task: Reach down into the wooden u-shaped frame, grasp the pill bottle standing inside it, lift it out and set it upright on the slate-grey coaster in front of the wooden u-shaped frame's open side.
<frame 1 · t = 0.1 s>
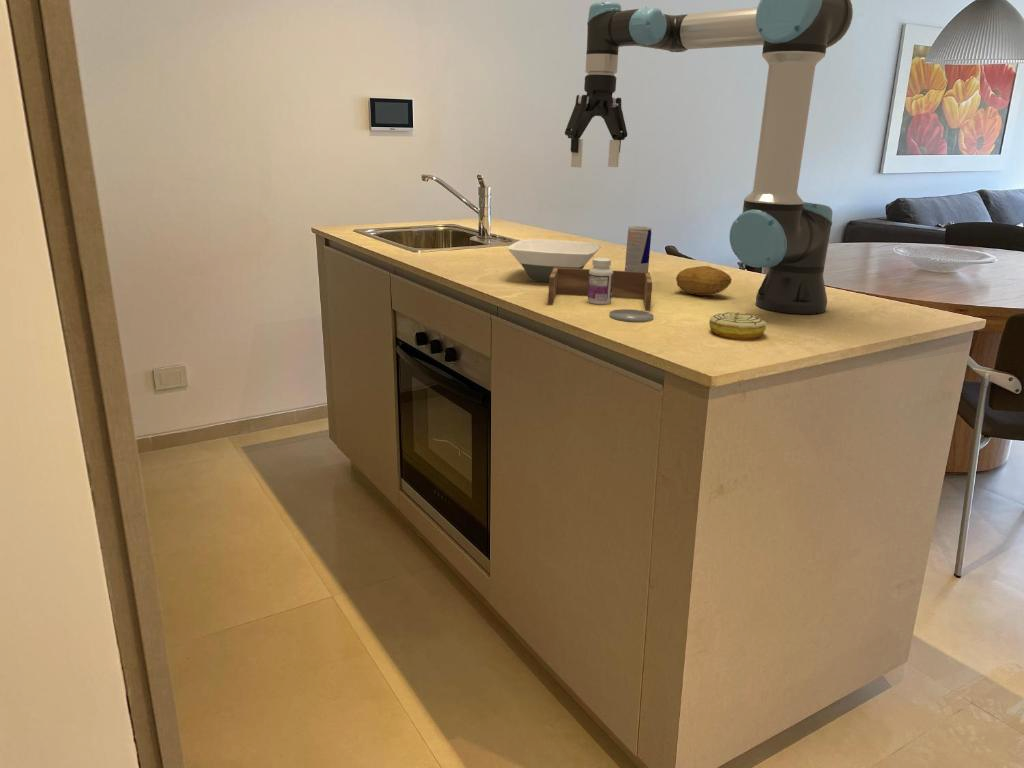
hand: (594, 167, 190), 28 cm above the worktop, fingers open, 13 cm apart
pill bottle: (598, 303, 172), on the worktop
wooden u-shaped frame: (599, 301, 173), on the worktop
decorated donut: (736, 335, 149), on the worktop
beverage can: (634, 289, 189), on the worktop
potato: (702, 296, 184), on the worktop
coaster: (631, 317, 159), on the worktop
bowl: (553, 279, 199), on the worktop
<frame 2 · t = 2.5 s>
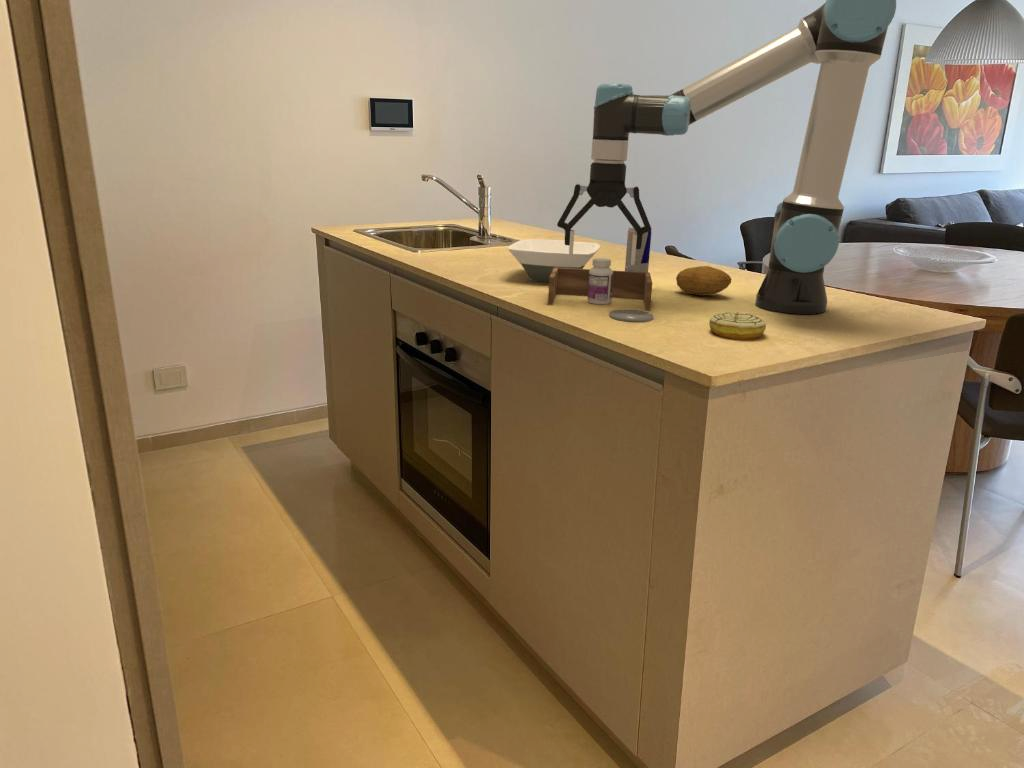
hand: (601, 262, 170), 9 cm above the worktop, fingers open, 13 cm apart
nothing on the worktop moved.
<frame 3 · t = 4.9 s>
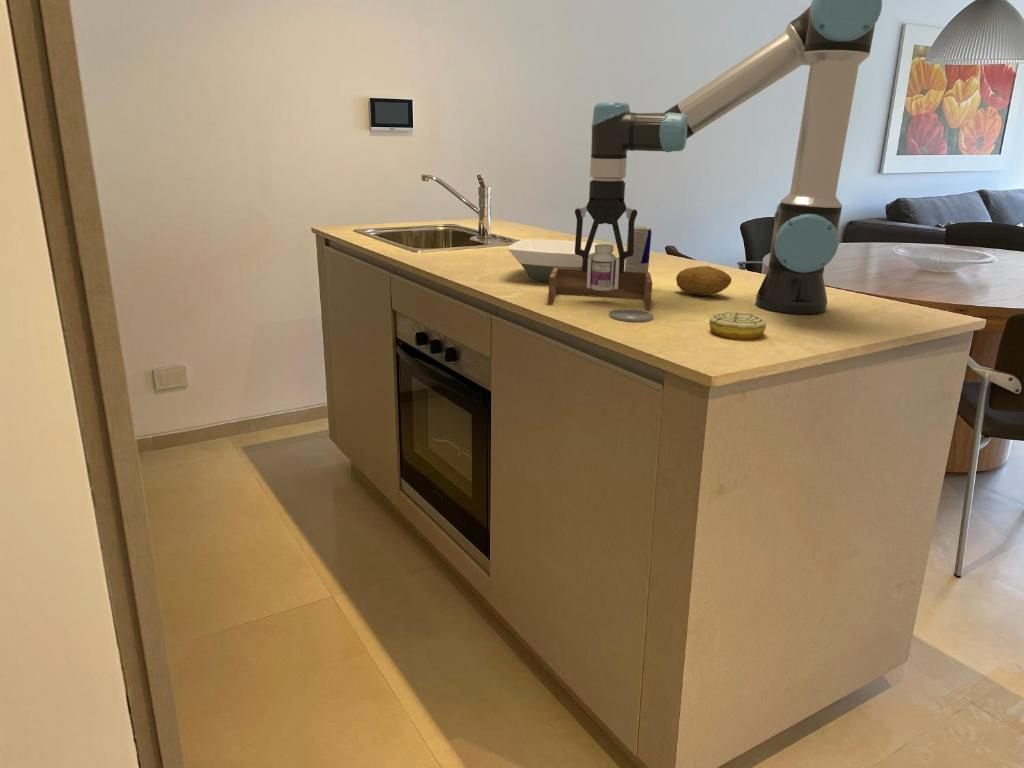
hand: (602, 287, 171), 3 cm above the worktop, fingers closed on pill bottle, 5 cm apart
pill bottle: (602, 289, 171), point 3 cm above the worktop, touching gripper
everything else where it was.
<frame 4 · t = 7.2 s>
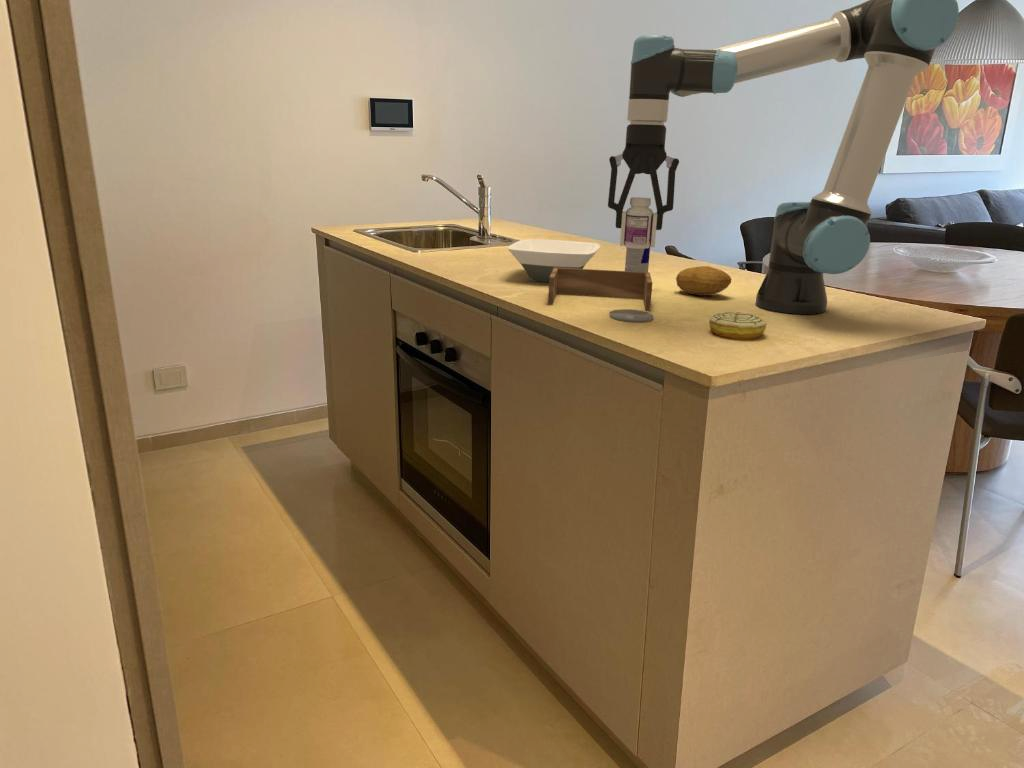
hand: (637, 245, 155), 15 cm above the worktop, fingers closed on pill bottle, 5 cm apart
pill bottle: (636, 248, 155), point 14 cm above the worktop, touching gripper
everything else where it was.
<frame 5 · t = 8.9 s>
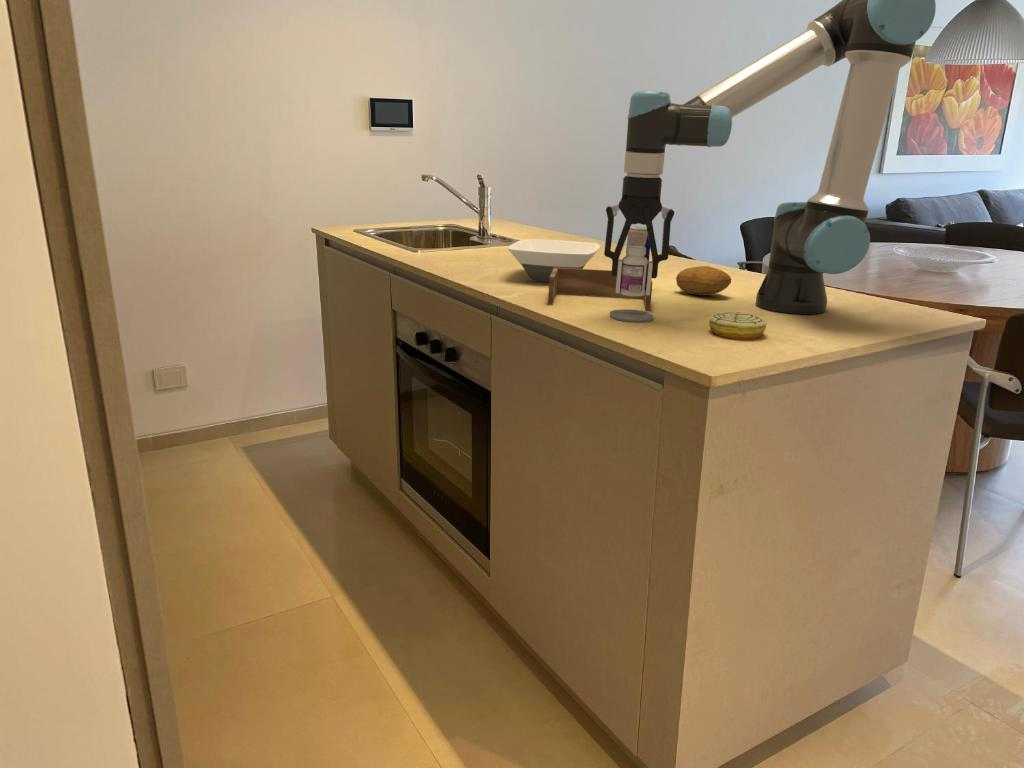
hand: (632, 292, 158), 5 cm above the worktop, fingers closed on pill bottle, 5 cm apart
pill bottle: (632, 295, 158), point 5 cm above the worktop, touching gripper
everything else where it was.
when the fingers open (2 cm above the worktop, at t = 9.9 s): pill bottle stays where it is, resting on coaster.
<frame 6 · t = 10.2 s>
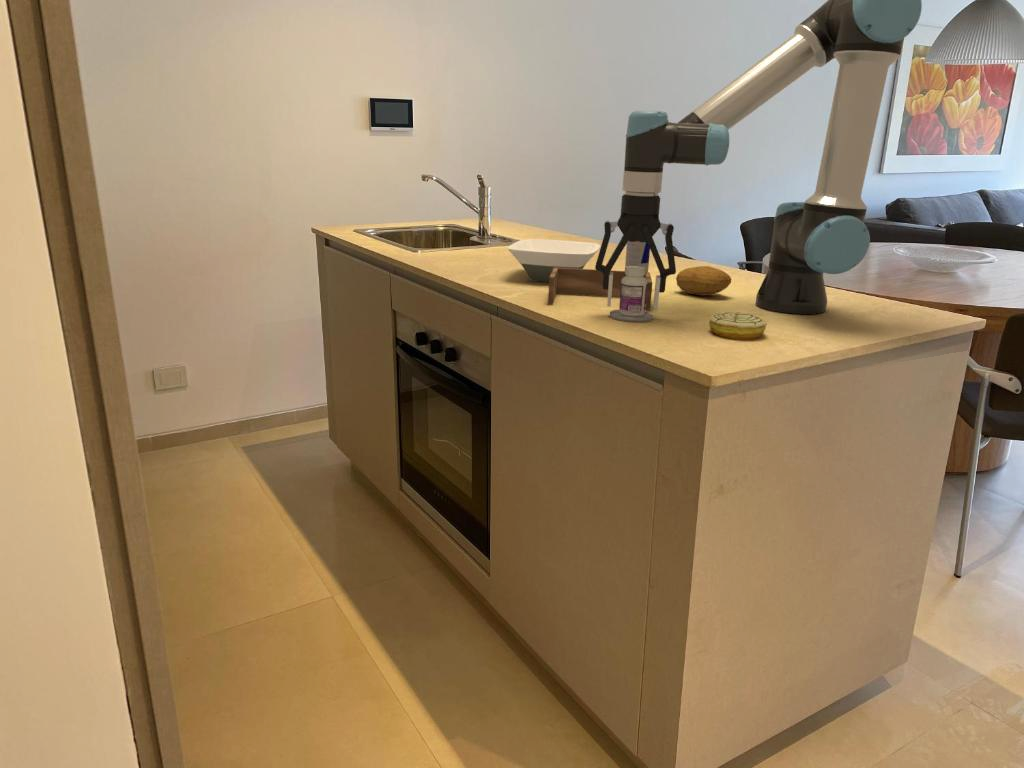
hand: (632, 306, 159), 2 cm above the worktop, fingers open, 9 cm apart
pill bottle: (631, 315, 159), resting on coaster
everything else where it was.
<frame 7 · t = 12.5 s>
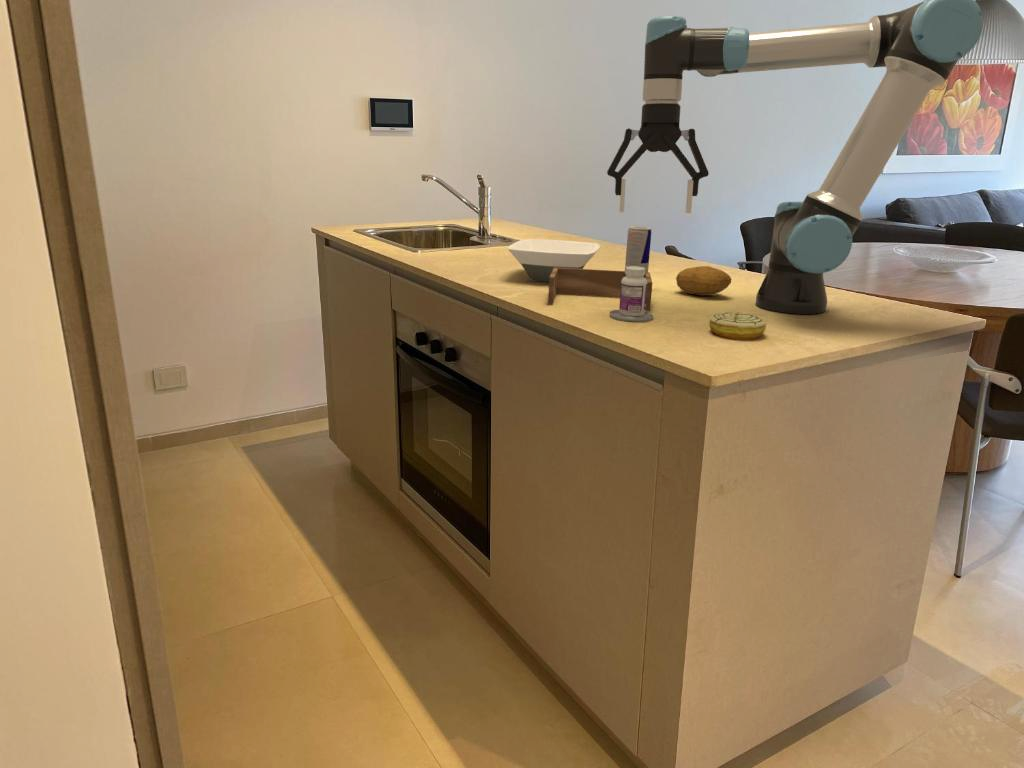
hand: (654, 212, 159), 21 cm above the worktop, fingers open, 13 cm apart
nothing on the worktop moved.
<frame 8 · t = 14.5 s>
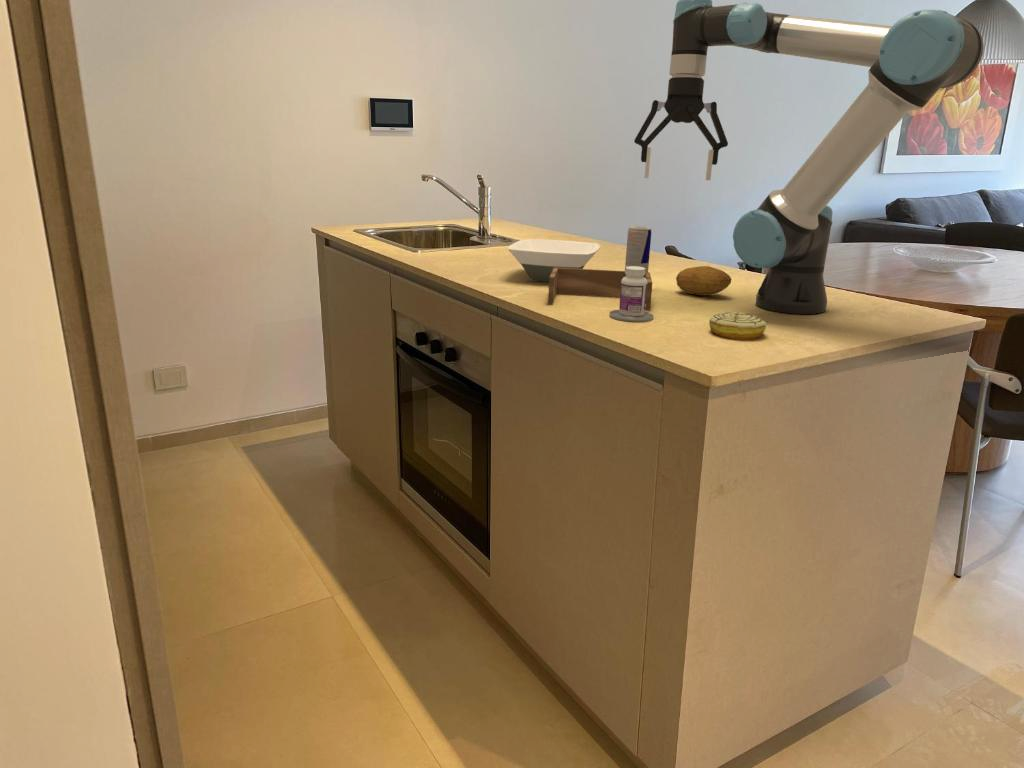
hand: (677, 179, 173), 27 cm above the worktop, fingers open, 13 cm apart
nothing on the worktop moved.
at the end: pill bottle inside the target area on the coaster (0.0 cm from its centre), point 0.4 cm above the coaster's base; pill bottle tilted 0°; the gripper is holding nothing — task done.
